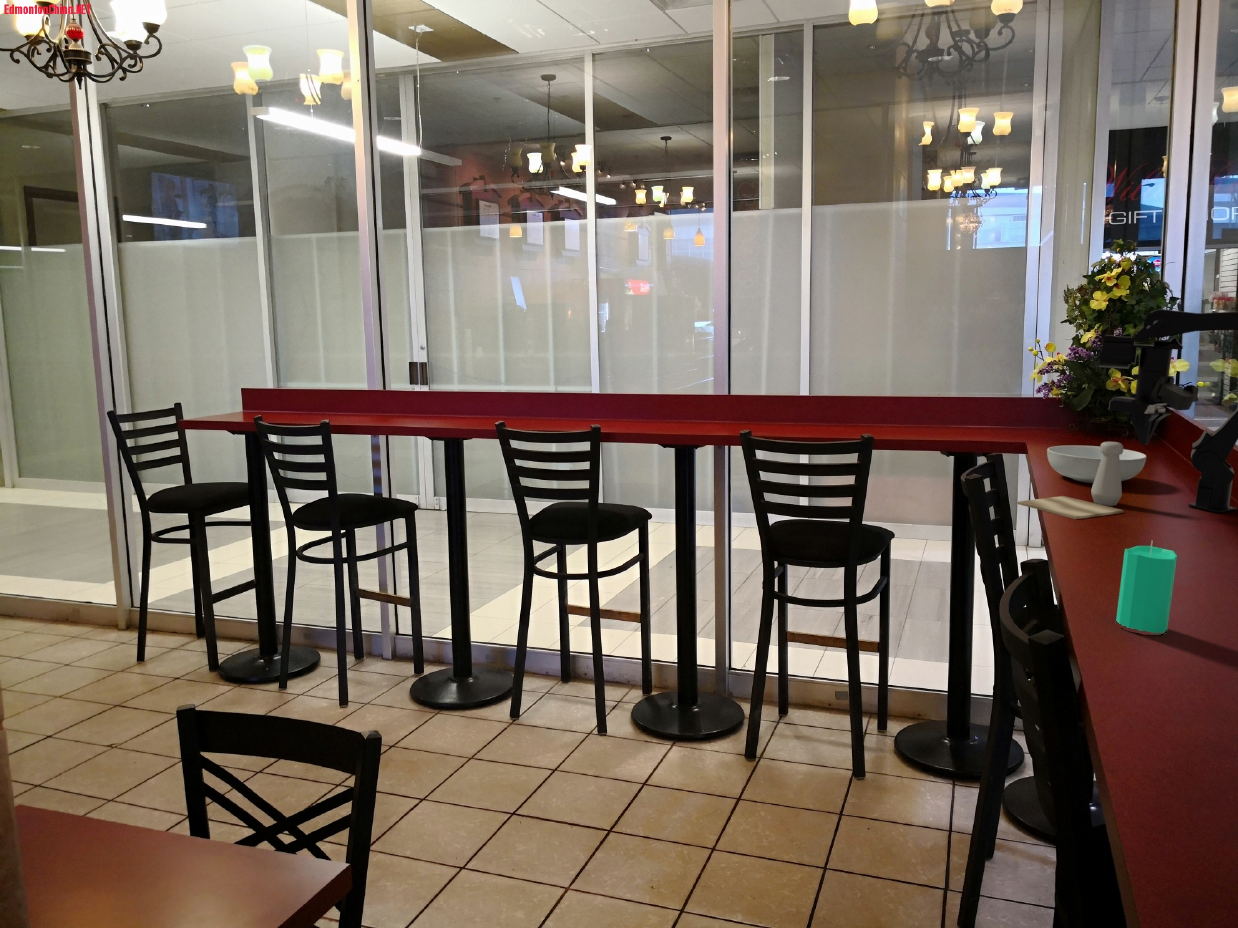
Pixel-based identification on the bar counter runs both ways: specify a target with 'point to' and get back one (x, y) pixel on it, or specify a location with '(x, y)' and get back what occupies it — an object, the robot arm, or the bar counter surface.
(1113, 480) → the salt shaker
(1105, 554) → the bar counter surface
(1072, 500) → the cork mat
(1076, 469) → the serving bowl
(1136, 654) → the bar counter surface
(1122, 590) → the candle
